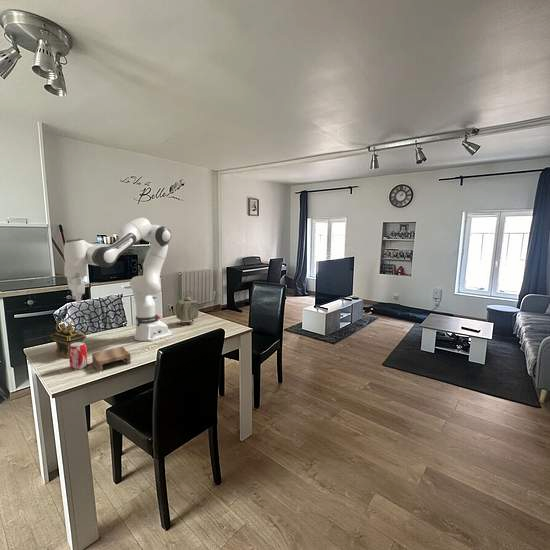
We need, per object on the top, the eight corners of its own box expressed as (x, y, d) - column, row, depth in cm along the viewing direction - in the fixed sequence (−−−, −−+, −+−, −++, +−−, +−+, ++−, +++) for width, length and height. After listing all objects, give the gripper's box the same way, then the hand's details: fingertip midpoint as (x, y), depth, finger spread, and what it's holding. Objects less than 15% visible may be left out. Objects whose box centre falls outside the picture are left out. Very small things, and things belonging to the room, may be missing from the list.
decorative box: (88, 353, 156) (86, 318, 153) (69, 360, 147) (67, 323, 144) (66, 346, 164) (63, 313, 161) (47, 352, 155) (44, 317, 153)
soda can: (89, 367, 139) (88, 343, 138) (72, 372, 134) (70, 347, 133) (85, 363, 144) (83, 340, 142) (68, 367, 139) (66, 343, 137)
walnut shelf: (122, 355, 154) (122, 346, 153) (130, 363, 145) (130, 354, 144) (92, 362, 144) (92, 353, 144) (99, 372, 135) (98, 361, 134)
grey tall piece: (193, 320, 220) (193, 288, 216) (199, 323, 214) (199, 290, 210) (175, 324, 209) (175, 291, 206) (182, 327, 203) (181, 293, 200)
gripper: (88, 274, 132) (88, 303, 134) (79, 270, 147) (80, 296, 148) (71, 275, 128) (72, 305, 129) (64, 270, 143) (65, 298, 144)
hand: (76, 300), depth 139 cm, fingers open, 8 cm apart
